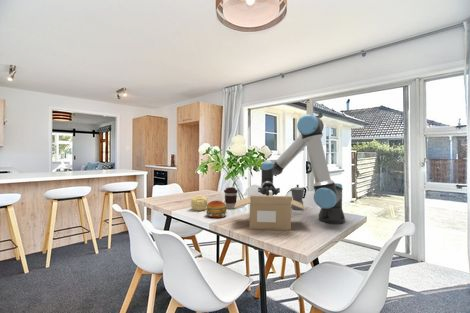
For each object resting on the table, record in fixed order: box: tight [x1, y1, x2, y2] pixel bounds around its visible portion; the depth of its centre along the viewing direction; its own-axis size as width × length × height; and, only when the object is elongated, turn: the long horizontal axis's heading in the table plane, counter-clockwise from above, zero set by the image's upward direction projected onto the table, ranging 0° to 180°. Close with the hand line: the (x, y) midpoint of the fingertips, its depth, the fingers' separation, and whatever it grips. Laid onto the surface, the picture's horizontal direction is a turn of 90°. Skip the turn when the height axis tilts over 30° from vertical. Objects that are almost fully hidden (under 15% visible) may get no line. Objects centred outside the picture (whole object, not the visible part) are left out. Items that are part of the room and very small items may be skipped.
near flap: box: [249, 194, 293, 205], centre depth 123 cm, size 21×9×1 cm
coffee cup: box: [223, 186, 238, 210], centre depth 176 cm, size 10×10×15 cm
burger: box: [205, 200, 228, 219], centre depth 154 cm, size 13×14×10 cm
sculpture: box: [190, 194, 208, 212], centre depth 170 cm, size 11×12×11 cm
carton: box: [233, 196, 308, 231], centre depth 140 cm, size 39×27×14 cm
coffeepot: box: [290, 184, 308, 211], centre depth 175 cm, size 15×9×18 cm, turn 118°
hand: (270, 194), depth 122 cm, fingers closed
